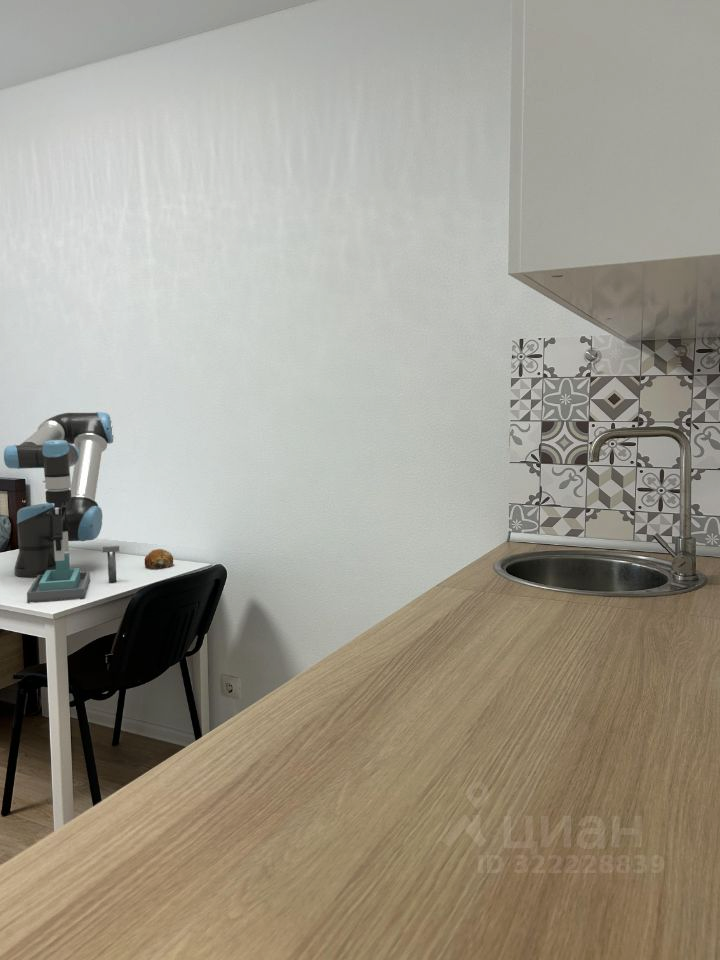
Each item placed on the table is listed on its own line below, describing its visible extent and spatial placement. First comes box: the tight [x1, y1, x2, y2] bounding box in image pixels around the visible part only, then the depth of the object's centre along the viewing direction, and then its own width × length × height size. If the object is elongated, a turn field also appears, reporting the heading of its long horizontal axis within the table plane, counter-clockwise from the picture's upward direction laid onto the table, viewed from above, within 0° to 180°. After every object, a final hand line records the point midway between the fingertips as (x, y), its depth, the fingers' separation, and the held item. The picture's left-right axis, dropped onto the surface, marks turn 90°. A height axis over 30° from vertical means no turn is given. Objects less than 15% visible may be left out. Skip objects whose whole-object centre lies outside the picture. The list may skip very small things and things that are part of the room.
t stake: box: [102, 545, 120, 584], centre depth 248 cm, size 2×5×12 cm, turn 105°
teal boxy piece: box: [39, 552, 81, 591], centre depth 237 cm, size 18×10×9 cm, turn 15°
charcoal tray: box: [26, 571, 91, 603], centre depth 237 cm, size 24×16×3 cm, turn 15°
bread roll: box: [144, 548, 174, 570], centre depth 271 cm, size 10×10×8 cm
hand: (62, 556), depth 244 cm, fingers open, 13 cm apart
